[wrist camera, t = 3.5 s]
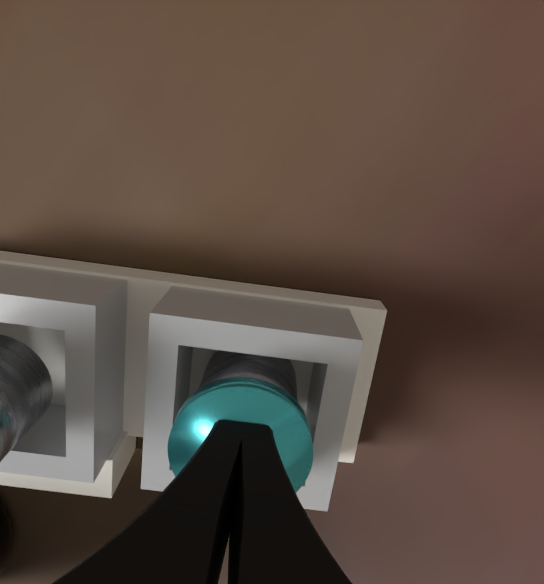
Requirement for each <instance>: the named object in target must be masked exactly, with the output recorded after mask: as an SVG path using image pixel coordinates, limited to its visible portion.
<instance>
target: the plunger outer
mask: <svg viewBox="0 0 544 584" xmlns="http://www.w3.org/2000/svg"><path fill="white" fill-rule="evenodd" d="M219 419H220V420H228V421H236V422H244V423H252V424H260V425H268V426H270V428H271V429H272V430H273V435H274V439H275V443H276V446H277V449H278V452H279V455H280V458H281V460H282V463H283V465H284V468H285V470H286V473H287V475H288V477H289V479H290V482H291V484H292V486H293V488H294V491H295V493H296V492H297V491H298V490H299V489H300V488H301V487H302V486H303V484H304V483H305V481H306V479H307V478H308V475H309V473H310V471H311V467H312V463H313V441H312V432H311V427H310V423H309V420H308V418H307V415H306V414H305V412H304V410H303V408H302V407H301V406H300V404H299V403H298V399H297V385H296V375H295V371H294V368H293V366H292V364H291V362H290V360H289V359H284V358H276V357H268V356H261V355H253V354H245V353H237V352H229V351H222V350H218V351H217V352H216V353H215V354H214V355H213V356H212V357H211V359H210V360H209V362H208V364H207V366H206V369H205V372H204V375H203V378H202V381H201V383H200V386H199V389H198V390H197V391H195V392H194V393H193V394H192V395H191V396H190V397H189V398H188V399H187V400H186V401H185V402H184V404H183V405H182V406H181V408H180V410H179V412H178V414H177V416H176V419H175V421H174V424H173V426H172V429H171V432H170V435H169V439H168V459H169V463H170V466H171V469H172V471H173V473H174V475H175V477H176V476H177V475H178V474H179V473H180V471H181V470H182V469H183V468H184V466H185V465H186V464H187V463H188V461H189V460H190V459H191V458H192V456H193V455H194V454H195V453H196V451H197V450H198V448H199V447H200V446H201V444H202V443H203V441H204V440H205V438H206V437H207V435H208V434H209V432H210V430H211V429H212V427H213V425H214V423H215V422H216V421H218V420H219Z"/></svg>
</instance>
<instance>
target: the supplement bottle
mask: <svg viewBox="0 0 544 584" xmlns="http://www.w3.org/2000/svg"><path fill="white" fill-rule="evenodd" d="M11 550H12V529H11V525H10V521H9V518H8V516H7V514H6V512H5V510H4V508H3V506H2V505H1V503H0V575H1V574H2V572H3V570H4V569H5V567H6V565H7V563H8V560H9V557H10V554H11Z"/></svg>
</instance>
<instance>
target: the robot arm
mask: <svg viewBox="0 0 544 584" xmlns="http://www.w3.org/2000/svg"><path fill="white" fill-rule="evenodd" d="M229 533H230V537H229ZM228 537H229V561H228V584H352V583H351V582H350V580H349V579H348V578H347V576H346V575H345V574H344V572H343V571H342V569H341V568H340V566H339V565H338V564H337V562H336V561H335V559H334V558H333V557H332V555H331V554H330V552H329V550H328V549H327V547H326V546H325V544H324V543H323V541H322V540H321V538H320V536H319V535H318V533H317V531H316V530H315V528H314V526H313V525H312V523H311V521H310V519H309V518H308V516H307V514H306V512H305V510H304V508H303V506H302V505H301V503H300V501H299V499H298V497H297V495H296V493H295V491H294V488H293V486H292V484H291V482H290V479H289V477H288V475H287V473H286V470H285V468H284V465H283V463H282V460H281V458H280V455H279V452H278V449H277V446H276V443H275V439H274V435H273V430H272V429H271V428H270V426H268V425H260V424H252V423H244V422H236V421H228V420H220V419H219V420H218V421H216V422H215V423H214V425H213V427H212V429H211V430H210V432H209V434H208V435H207V437H206V438H205V440H204V441H203V443H202V444H201V446H200V447H199V448H198V450H197V451H196V453H195V454H194V455H193V456H192V458H191V459H190V460H189V461H188V463H187V464H186V465H185V466H184V468H183V469H182V470H181V471H180V473H179V474H178V475H177V476H176V477H175V478H174V479H173V480H172V482H171V483H170V484H169V485H168V486H167V487H166V488H165V489H164V490H163V491H162V493H161V494H160V495H159V496H158V497H157V498H156V499H155V500H154V501H153V502H152V503H151V504H150V505H149V506H148V507H147V508H146V509H145V510H144V511H143V512H142V513H141V514H140V515H139V516H137V517H136V518H135V519H134V520H133V521H132V522H131V523H130V524H129V525H128V526H127V527H125V528H124V529H123V530H122V531H121V532H120V533H118V534H117V535H116V536H115V537H113V538H112V539H111V540H110V541H109V542H107V543H106V544H105V545H104V546H103V547H101V548H100V549H99V550H98V551H96V552H95V553H94V554H93V555H91V556H90V557H89V558H87V559H86V560H85V561H83V562H82V563H81V564H79V565H78V566H76V567H75V568H74V569H72V570H71V571H69V572H68V573H66V574H65V575H64V576H62V577H61V578H59V579H58V580H56V581H55V582H53V583H52V584H218V581H219V576H220V572H221V568H222V563H223V559H224V555H225V550H226V546H227V542H228Z"/></svg>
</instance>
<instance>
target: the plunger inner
mask: <svg viewBox="0 0 544 584" xmlns="http://www.w3.org/2000/svg"><path fill="white" fill-rule="evenodd" d="M52 394H53V386H52V380H51V376H50V374H49V371H48V369H47V367H46V365H45V364H44V362H43V361H42V360H41V358H40V357H39V356H38V355H37V354H36V353H35V352H34V351H33V350H32V349H31V348H29V347H28V346H27V345H25V344H24V343H22V342H20V341H18V340H16V339H14V338H11V337H8V336H5V335H0V462H1V461H2V460H3V458H4V457H5V456H6V455H7V454H8V453H9V452H10V451H11V450H12V449H13V448H14V446H15V445H16V444H17V443H18V442H19V441H20V440H21V439H22V438H23V437H24V435H25V434H26V433H27V432H28V431H29V430H30V429H31V428H32V427H33V426H34V425H35V423H36V422H37V421H38V420H39V419H40V418H41V417H42V416H43V415H44V413H45V412H46V411H47V409H48V407H49V405H50V403H51V400H52Z"/></svg>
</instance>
